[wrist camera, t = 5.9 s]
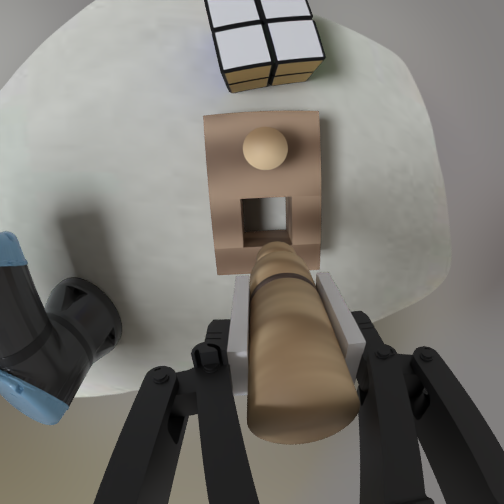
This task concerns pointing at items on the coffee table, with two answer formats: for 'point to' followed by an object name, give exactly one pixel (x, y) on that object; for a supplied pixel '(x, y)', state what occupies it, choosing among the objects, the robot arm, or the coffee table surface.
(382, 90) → the coffee table surface
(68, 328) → the robot arm
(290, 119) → the wooden peg block
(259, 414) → the leg
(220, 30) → the puzzle cube
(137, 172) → the coffee table surface
